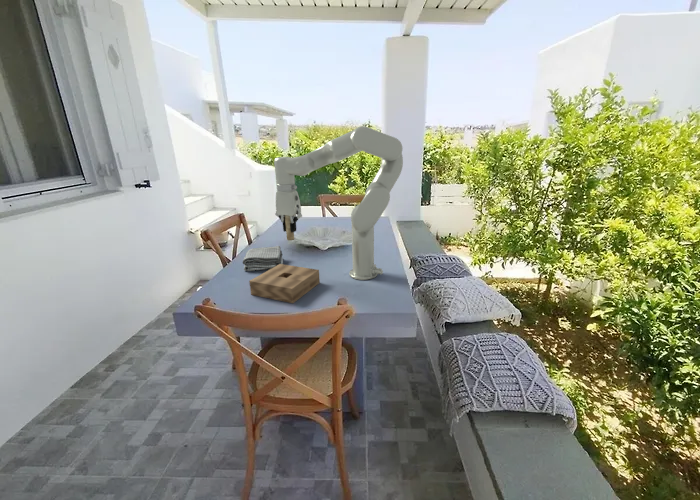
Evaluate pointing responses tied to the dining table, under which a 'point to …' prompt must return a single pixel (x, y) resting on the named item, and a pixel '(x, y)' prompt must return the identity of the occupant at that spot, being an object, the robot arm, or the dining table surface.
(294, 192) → the robot arm
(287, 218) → the peg
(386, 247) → the dining table surface
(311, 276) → the bore block
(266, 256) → the towel
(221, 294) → the dining table surface
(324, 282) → the dining table surface
